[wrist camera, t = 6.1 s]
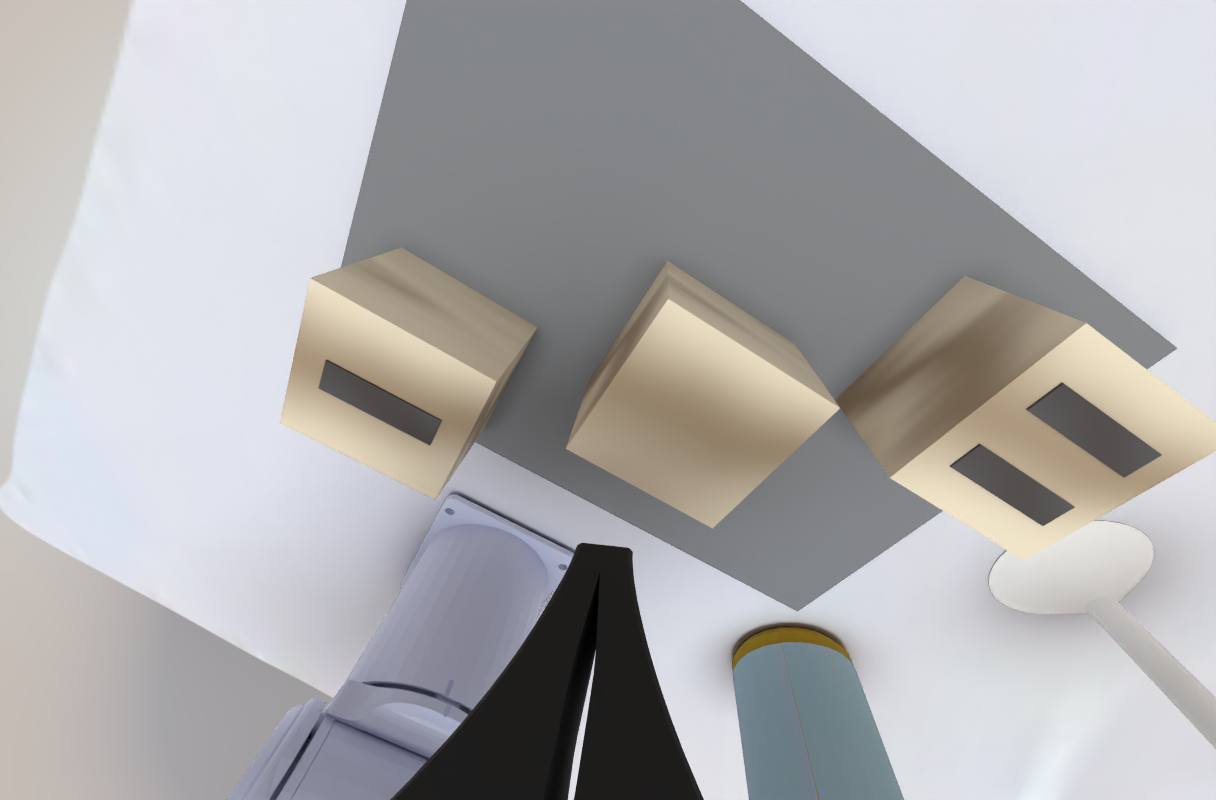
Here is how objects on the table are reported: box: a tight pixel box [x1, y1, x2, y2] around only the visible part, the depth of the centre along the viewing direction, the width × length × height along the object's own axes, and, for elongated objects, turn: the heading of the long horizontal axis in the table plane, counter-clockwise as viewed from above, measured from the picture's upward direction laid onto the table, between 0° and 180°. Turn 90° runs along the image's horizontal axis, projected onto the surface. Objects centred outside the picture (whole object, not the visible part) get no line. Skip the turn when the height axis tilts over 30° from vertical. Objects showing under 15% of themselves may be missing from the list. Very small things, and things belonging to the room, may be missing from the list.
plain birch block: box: [566, 261, 840, 529], centre depth 16 cm, size 6×6×5 cm
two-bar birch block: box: [835, 276, 1216, 560], centre depth 15 cm, size 6×6×5 cm
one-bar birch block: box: [280, 247, 538, 500], centre depth 17 cm, size 6×6×5 cm
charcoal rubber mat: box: [341, 0, 1177, 611], centre depth 18 cm, size 19×28×1 cm
